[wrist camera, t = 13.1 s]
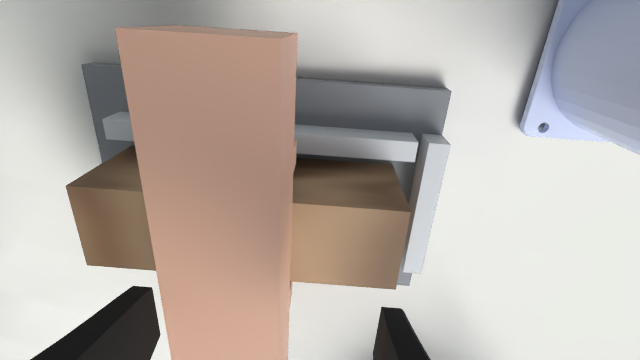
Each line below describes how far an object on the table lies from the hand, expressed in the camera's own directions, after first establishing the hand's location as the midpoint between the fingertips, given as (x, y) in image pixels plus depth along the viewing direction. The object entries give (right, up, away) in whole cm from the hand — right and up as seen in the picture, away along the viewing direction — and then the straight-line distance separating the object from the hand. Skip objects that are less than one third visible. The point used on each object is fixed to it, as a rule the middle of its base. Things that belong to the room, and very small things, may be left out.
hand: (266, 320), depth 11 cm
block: (-1, +3, +5) cm, 5 cm away
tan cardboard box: (-2, +4, +8) cm, 9 cm away
